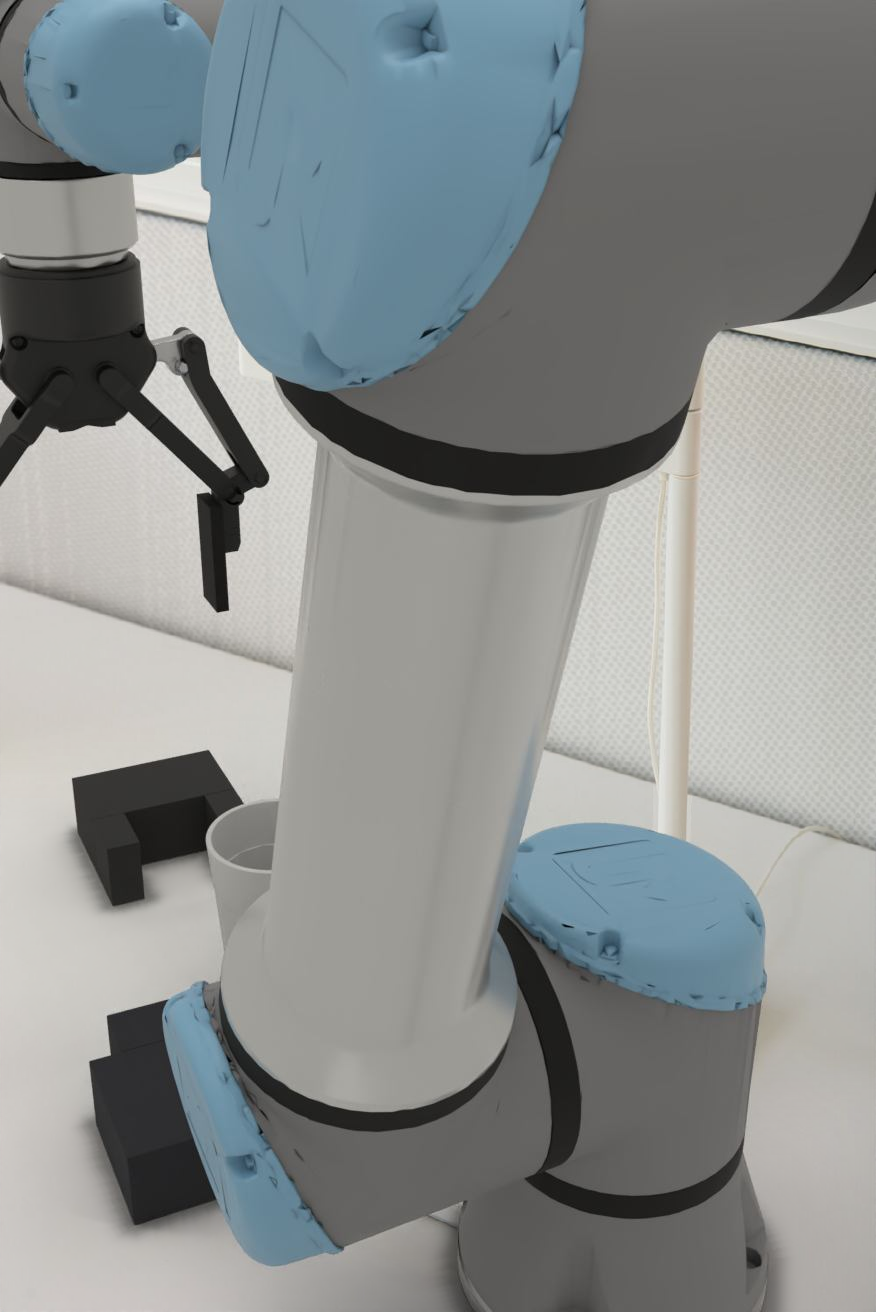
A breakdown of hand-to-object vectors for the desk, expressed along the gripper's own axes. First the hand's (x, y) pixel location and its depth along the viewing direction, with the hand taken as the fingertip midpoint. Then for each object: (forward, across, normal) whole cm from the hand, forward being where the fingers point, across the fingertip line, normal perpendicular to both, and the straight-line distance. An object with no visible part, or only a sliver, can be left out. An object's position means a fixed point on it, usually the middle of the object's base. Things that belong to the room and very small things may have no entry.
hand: (103, 623), depth 94 cm
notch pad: (+22, -5, -10) cm, 25 cm away
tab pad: (+23, +2, +17) cm, 29 cm away
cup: (+23, -7, +9) cm, 26 cm away
